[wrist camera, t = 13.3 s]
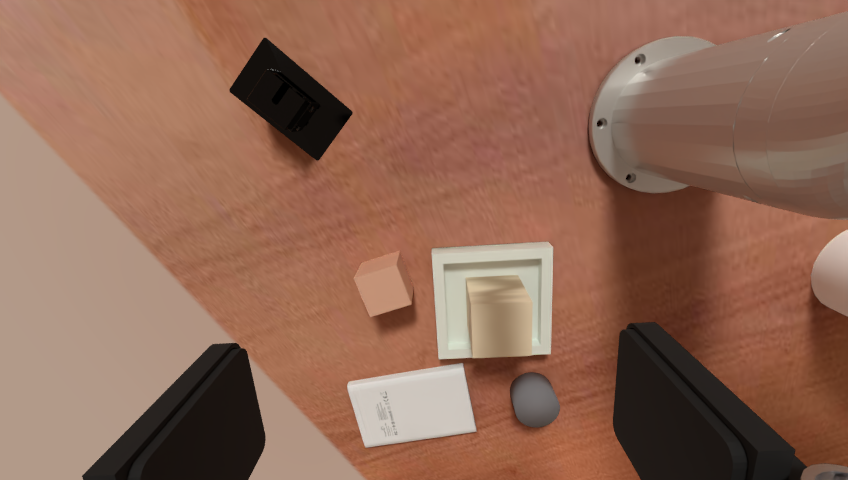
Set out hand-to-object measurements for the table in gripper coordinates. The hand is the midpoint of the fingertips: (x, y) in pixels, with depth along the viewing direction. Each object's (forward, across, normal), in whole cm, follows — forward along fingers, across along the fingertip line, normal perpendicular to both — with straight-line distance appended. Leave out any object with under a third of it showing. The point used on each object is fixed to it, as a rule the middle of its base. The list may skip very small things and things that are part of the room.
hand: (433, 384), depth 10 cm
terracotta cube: (+28, +5, +8) cm, 30 cm away
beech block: (+28, -5, +11) cm, 30 cm away
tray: (+28, -5, +11) cm, 31 cm away
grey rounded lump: (+28, -9, +22) cm, 37 cm away
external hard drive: (+29, +4, +23) cm, 37 cm away
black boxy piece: (+29, +12, -9) cm, 33 cm away
